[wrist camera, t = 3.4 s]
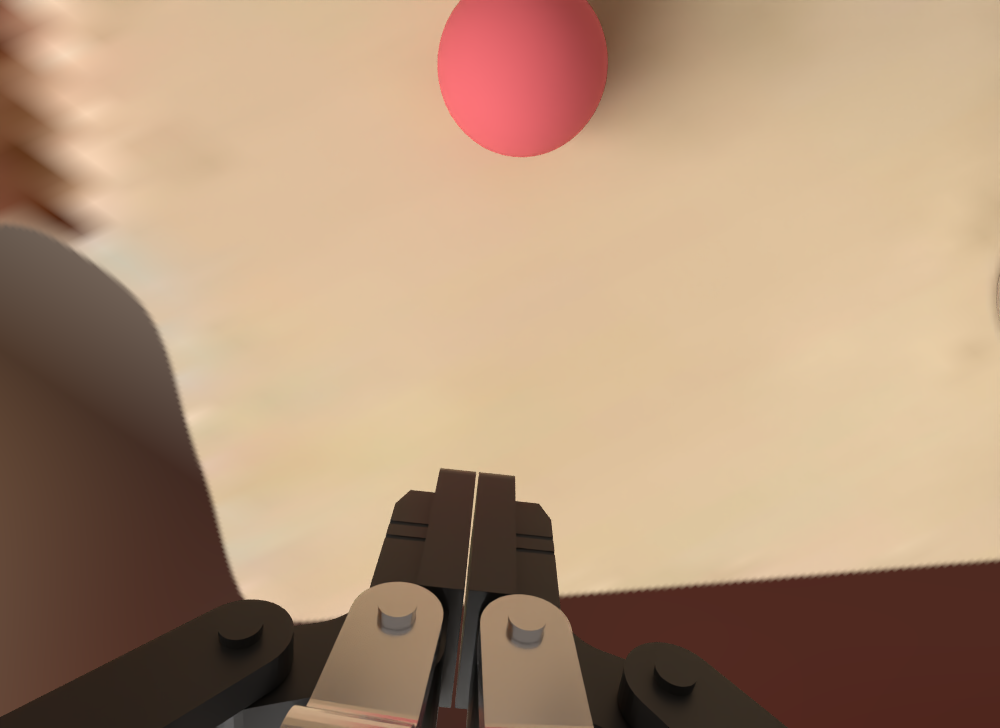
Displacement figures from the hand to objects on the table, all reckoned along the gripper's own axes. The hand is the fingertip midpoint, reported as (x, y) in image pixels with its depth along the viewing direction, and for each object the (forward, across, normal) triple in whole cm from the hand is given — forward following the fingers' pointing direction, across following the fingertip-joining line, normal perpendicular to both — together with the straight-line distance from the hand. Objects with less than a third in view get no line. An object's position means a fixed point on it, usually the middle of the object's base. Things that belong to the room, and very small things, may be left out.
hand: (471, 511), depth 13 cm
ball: (+14, 0, -9) cm, 17 cm away
